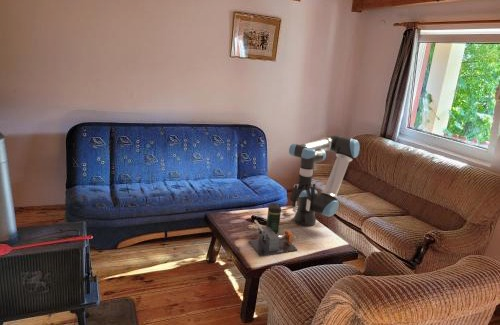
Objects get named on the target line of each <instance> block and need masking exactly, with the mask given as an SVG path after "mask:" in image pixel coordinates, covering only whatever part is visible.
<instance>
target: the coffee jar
mask: <svg viewBox="0 0 500 325" xmlns="http://www.w3.org/2000/svg"><path fill="white" fill-rule="evenodd" d="M267 208H268V209H267V215H266V216H267V218H266V226H265V227H270V228H271V229H272V230H273V231H274V232H275V233H276V234H277V235H279V231H280V230H279V229H280V222H281V214H282V207H281V206H280V205H279V203H277V202H271V203H269V204H268V207H267Z"/></svg>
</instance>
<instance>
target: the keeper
mask: <svg viewBox="0 0 500 325" xmlns="http://www.w3.org/2000/svg"><path fill="white" fill-rule="evenodd" d="M254 223H255V224H256V226H257V227H258V230H259V229H260V231H261V232H262V233H263V234H264V233H265V232H264V230H263V229H262V227H263V226H262V225H261V224H260V223H259V222H258V220H257V219H254Z"/></svg>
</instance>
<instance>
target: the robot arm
mask: <svg viewBox="0 0 500 325" xmlns="http://www.w3.org/2000/svg"><path fill="white" fill-rule="evenodd" d="M360 147H361V146H360V142H359V141H358V140H357V139H354V138H351V137H345V136H342V135H327V136H323V137H321V138H320V139H318V140H313V141H309V142H306V143H302V144H297V143H292V144H290V145H289V149H288V154H289V155H291V156H293V157H295V158H299V159H300V166H299V167H300V168H299V174H298V182H297V183H296V184H295V183H294V184H292V187H293V188H292V190H291V194H290V198H289V200H290V201H291V203H292V204H291V206H292V211H293V213H295V215H294V216H293V222H294V223H295V224H297V225H299V226H302V227H303V226H304V227H313V226H315V225H316V222H317V219H316V215H315V214H316V213H317V214H320V215H323V216H326V217H332V216H334V215H335V214H336V213H337V211H338V210H339V206H340V203H339V201H338V199H339V198H338V196H337V195H338V193H339V189H340V187H341V185H342V182H343V179H344V177H345V174H346V172H347V169H348V166H349V164H350V162H352V161H353V160H354V159H355V158H357V157H358V156H359V154H360ZM327 151H328V152H332V153H335V156H336V159H335V161H334V164H333V165H332V166H333V167H332V170H331V171H330V173H329V176H328V180H327V183H326V185H325V187H324V190H322V191H321V192H320V193H319V194H318V191H317V190H316V189H315V188H316V183H314V182H312V180H313V174H314V173H313V172H314V165H315V164H317V163H321V162H323V161H324V160H326V157H327V153H326V152H327Z"/></svg>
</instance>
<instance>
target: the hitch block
mask: <svg viewBox="0 0 500 325" xmlns="http://www.w3.org/2000/svg"><path fill="white" fill-rule="evenodd" d="M261 227H262V229H263V230H264V232H265V233H264V234H263V233H262V232H261V231H260V229H259V228H258V234H259V235H258V238H256V239H250V240H248V243H249V244H250V246H251V245H252V246H251V247H252V248H253V250H254V251H255V252H256V254H257V255H258V256H259V257H260V258H261V257H267V256H273V255H281V254H286V253H287V254H288V253H294V252H298V248H297V247H296V246H295V245H294V244H293V242H292V243H288V242H287V241H286V240H285V239H283V240H279V239H280V238H279V236H278V235H279V234H276V233H275V232H274V231H273V230H272V229H271V228H270V227H266V226H261Z"/></svg>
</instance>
